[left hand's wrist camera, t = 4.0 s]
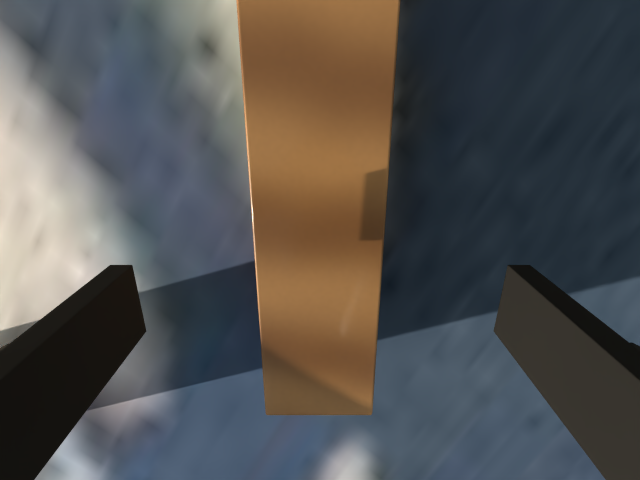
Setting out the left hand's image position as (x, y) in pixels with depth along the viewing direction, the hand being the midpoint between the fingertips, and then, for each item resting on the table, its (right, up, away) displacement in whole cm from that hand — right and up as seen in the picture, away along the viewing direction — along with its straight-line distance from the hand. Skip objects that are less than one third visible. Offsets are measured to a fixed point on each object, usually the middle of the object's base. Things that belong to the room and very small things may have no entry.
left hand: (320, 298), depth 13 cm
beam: (0, +29, 0) cm, 29 cm away
